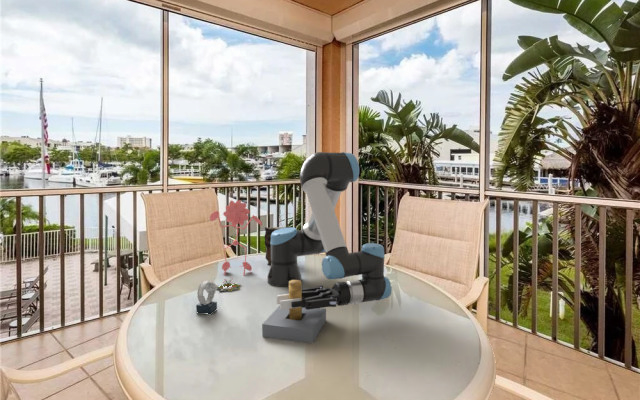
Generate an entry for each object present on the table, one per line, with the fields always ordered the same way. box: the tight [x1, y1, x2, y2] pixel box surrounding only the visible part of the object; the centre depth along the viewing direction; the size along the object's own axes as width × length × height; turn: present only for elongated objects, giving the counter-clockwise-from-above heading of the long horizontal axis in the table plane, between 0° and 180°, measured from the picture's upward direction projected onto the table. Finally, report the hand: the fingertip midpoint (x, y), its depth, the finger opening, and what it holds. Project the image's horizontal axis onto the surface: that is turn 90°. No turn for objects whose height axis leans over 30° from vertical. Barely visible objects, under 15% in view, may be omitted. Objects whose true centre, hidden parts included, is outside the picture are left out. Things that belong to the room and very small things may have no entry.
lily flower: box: [217, 277, 242, 292], centre depth 151 cm, size 12×12×5 cm
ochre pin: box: [288, 280, 303, 321], centre depth 114 cm, size 4×4×14 cm
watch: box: [195, 280, 218, 315], centre depth 127 cm, size 6×8×11 cm
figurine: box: [209, 199, 263, 276], centre depth 173 cm, size 15×26×35 cm, turn 86°
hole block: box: [261, 305, 327, 344], centre depth 114 cm, size 16×16×4 cm
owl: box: [264, 226, 289, 267], centre depth 185 cm, size 13×13×20 cm
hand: (278, 302), depth 112 cm, fingers closed on ochre pin, 4 cm apart
